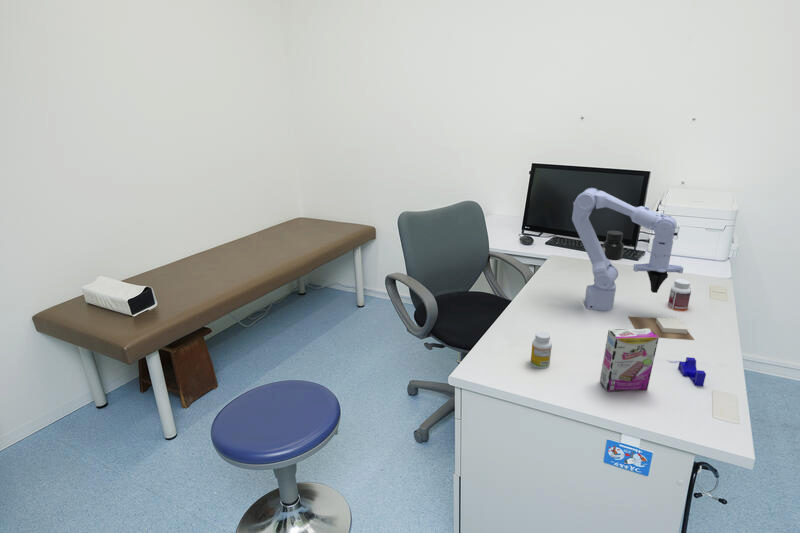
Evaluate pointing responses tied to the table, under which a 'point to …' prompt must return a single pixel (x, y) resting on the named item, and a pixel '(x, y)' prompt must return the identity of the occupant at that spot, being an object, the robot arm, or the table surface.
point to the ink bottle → (613, 245)
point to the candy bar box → (628, 359)
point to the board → (656, 328)
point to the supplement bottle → (541, 350)
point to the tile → (671, 325)
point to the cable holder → (692, 371)
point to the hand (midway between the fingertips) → (653, 291)
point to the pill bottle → (679, 295)
